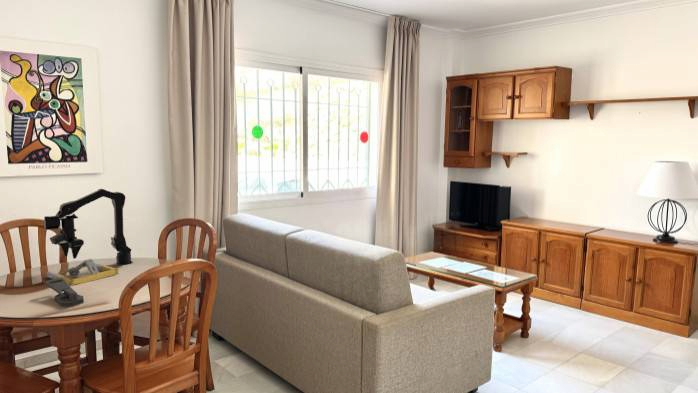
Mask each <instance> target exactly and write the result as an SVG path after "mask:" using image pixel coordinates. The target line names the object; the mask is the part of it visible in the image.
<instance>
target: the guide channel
mask: <svg viewBox="0 0 698 393" xmlns="http://www.w3.org/2000/svg"><path fill="white" fill-rule="evenodd" d="M94 264H95V266H96V268H97V270H98V271H101V270H102V272H99V273H95V274H92V275H91V274H88V275H84V276H80V277H76V278H71V277H68V276H65V275H64V274H63V275H60V274H59V273H56V272H53V271H47V272H46V275H47V276H46V277H47V278H49V279H51V280H52V279H57V278H63V279H64V280H65V281H66V282H67V283H68V284H69V286H75V285H78V284H84V283H87V281H88V282H91V280H92V281H96V280H99V279H104V278H107V277H112V276H116V275H119V269H118V268H115V267H112V266H107V265H104V264H100V263H97V262H94ZM91 267H92V269H94V268H93V266H92V265H91ZM95 279H96V280H95Z"/></svg>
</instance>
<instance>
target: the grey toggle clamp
mask: <svg viewBox="0 0 698 393" xmlns="http://www.w3.org/2000/svg"><path fill="white" fill-rule="evenodd" d="M43 284H44V285H45V286H47V287H48V288H50V289H51V290H53V291H54V292H56V293H57V294H56V295H54V301H55V302H56V303H57V304H58V305H59V307H61V308H69V307H75V306H78V305H81V304H84V302H85V300H84V295H81V294H78V292H77V291H75V289H74V288H72V287H71V285H69V284H68V283H67V282H66V281H65V280H64V279H63V278H57V279H52V278H51V279H49V280H45V281H43Z"/></svg>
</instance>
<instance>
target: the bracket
mask: <svg viewBox="0 0 698 393" xmlns="http://www.w3.org/2000/svg"><path fill="white" fill-rule="evenodd" d="M94 263H95V261H94V260H93V259H92V258H89V259H85V260H84V261H82V262H81V263H80V264H78V265H76V266H73V267H70V268H68V269H67V270H65V271H63V272H62V273H61V274H60V275H63V276H64V275H65V274H66V273H68V276H72V275H74V274H75V275H78V274H80V272H81V271H80V270H82V269H83V268H87V270H88V272H89V275H92V274H96V273H100V271H99V270H98V269H97V268H96V266H95V264H94ZM91 265H92V266H93V268H92V267H91ZM71 274H72V275H71Z"/></svg>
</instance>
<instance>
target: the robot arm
mask: <svg viewBox="0 0 698 393" xmlns="http://www.w3.org/2000/svg"><path fill="white" fill-rule="evenodd" d="M103 197H104V198H108V199H110V200H111V204H112V207H113V216H114V218H113V219H114V235H113V236H111V237H110V240H111V243H110V245H111V246H112V248H113V249H114V250H116V255H115V258H116V262H115V264H117V265H120V266H123V265H130V264H133V261H132V254H131V253H132V248H130V247H128V245H127V241H126V238H125V235H124V207H125V203H126V195H125V194H124V193H123V192H119V191H114V192H113V191H109V190H106V189H105V188H99V189H97V190H95V191H93V192H91V193H89V194H87V195H85V196H82V197H80V198H78V199H76V200H71V201H68V202H67V201H66V202H64V203H62V204H60V205H59V209H58V211H57V213H56V214H55V215H52V216H51V215H50V216H49V215H47V216H43V217H44V218H43V227H44V230H45V231H50V230H51V231H52V230H58V229H59V228H60V227H61V229H60V230H59V233H57V234H55V235H53V236H51V237H50V238H49V240H50V242H51V244H53V245H57V246H59V247H60V248H61V250H62V253H63V255H64V257H68V254H69V250H70V249H71V250H70V251H71V254H72V259H77V257H78V254H79V253H80V251H81V248H82V247H83V246H84V245H85V242H84V239H81V238H78V237H77V236H76V232H77V229H76V228H75V219H79V217H78V216H77V215H76V214H75V212H77V211H78V210H79V209H80V208H83V206H84V207H85V206H87V205H88V204H91V203H92V202H95V201H97V200H99V199H101V198H103Z"/></svg>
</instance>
